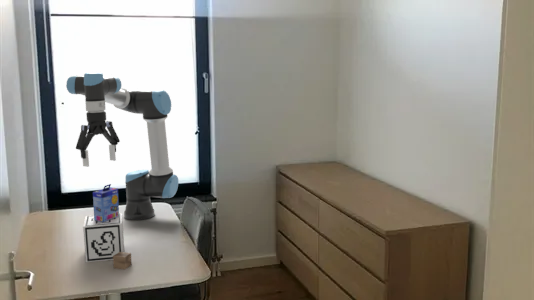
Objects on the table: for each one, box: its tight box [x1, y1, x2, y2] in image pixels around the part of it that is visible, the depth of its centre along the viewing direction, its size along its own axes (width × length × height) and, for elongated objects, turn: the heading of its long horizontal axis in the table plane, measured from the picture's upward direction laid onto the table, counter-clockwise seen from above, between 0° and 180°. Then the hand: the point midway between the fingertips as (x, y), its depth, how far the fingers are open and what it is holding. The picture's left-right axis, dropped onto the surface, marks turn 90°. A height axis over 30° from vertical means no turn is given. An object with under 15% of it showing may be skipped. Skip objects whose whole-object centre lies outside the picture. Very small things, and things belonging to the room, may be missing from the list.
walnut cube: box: [112, 251, 132, 270], centre depth 229 cm, size 5×5×5 cm
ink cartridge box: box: [92, 183, 120, 222], centre depth 241 cm, size 10×6×14 cm, turn 153°
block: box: [82, 212, 125, 263], centre depth 243 cm, size 15×15×15 cm
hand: (99, 163), depth 239 cm, fingers open, 13 cm apart
